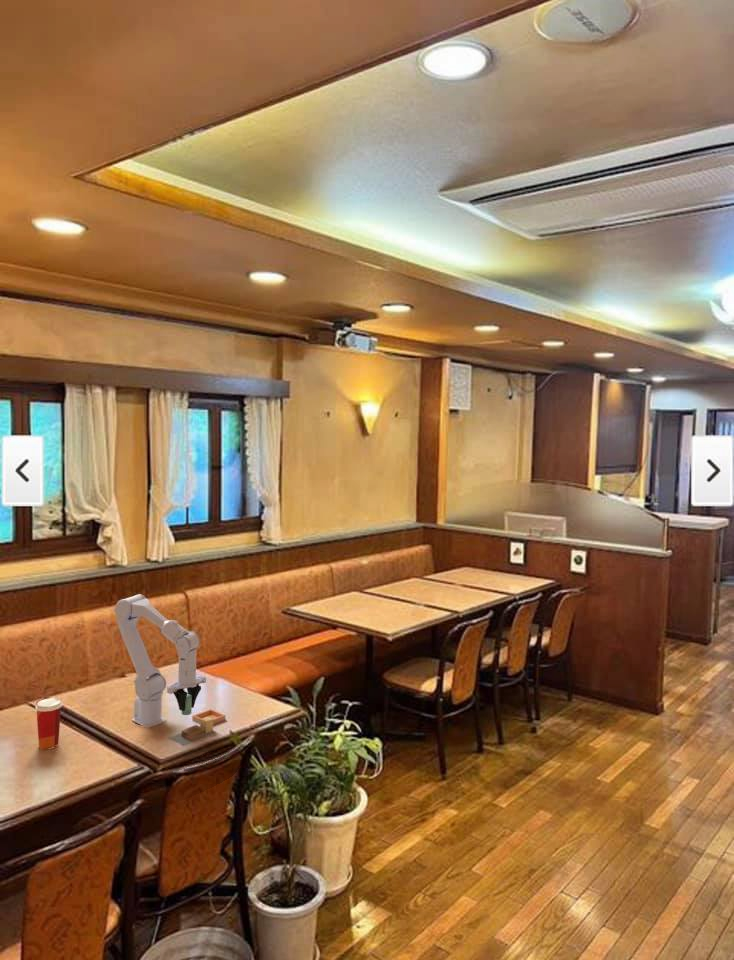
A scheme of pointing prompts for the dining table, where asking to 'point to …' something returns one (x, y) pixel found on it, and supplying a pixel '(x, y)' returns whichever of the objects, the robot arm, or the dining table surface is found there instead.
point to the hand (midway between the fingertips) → (186, 708)
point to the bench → (204, 723)
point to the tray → (210, 713)
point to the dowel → (188, 705)
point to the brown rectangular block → (193, 732)
